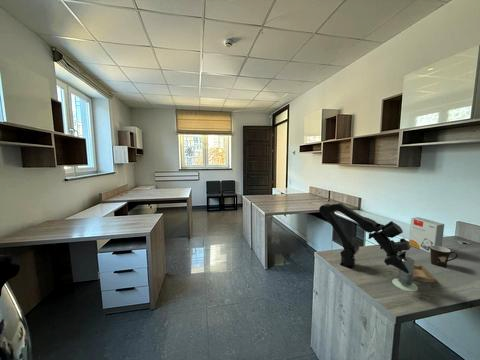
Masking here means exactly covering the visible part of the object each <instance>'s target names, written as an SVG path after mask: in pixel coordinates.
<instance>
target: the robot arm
mask: <svg viewBox="0 0 480 360" xmlns="http://www.w3.org/2000/svg"><path fill="white" fill-rule="evenodd" d="M337 211H338V212H339V213H342V214H343V215H344V216H345V217H348V218H349V219H350V220H352V221H354V222H355V223H357V224H358V226H359V227H360V229H362V230H363V231H364V232H365V233H368V239H369V240H370V239H372V238H373V240H374V241H375V242H376V243H377V245H379V246H380V247H379V248H380V250H383V251H384V252H385V253H386V254H385V255H386V256H385V258H384V260H383V263H385V265H386V266H393V267H394V266H395V267H397V268H399V269H400V270H402V271H404V272H406V273H409V271H408V269H407V268H406V267H405V265H404V264H403V262H402V258H400V257H401V256H406V254H407V251H409V250H410V249H411V247H412V246H411V245H409V240H407V239H405V237H404V238H400V239H399V241H397V242H395V241H394V240H393V238H395V237H397V236H399V235H401V234H402V233H404V230H403V229H402V227H401V226H400V225H398V224H397V223H395V222H394V221H393V220H391V221H390V222H387V223H386V224H385V225H384V224H382V223H379V222H377V221H376V220H373V219H372V218H369V217H366V216H362V215H361V214H359V213H358V212H356V211H354V210H352V209H351V208H349V207H348V206H346V205H345V204H343V203H341V202H338V203H331V204H330V203H326V204H322V205H320V207H319V213H320V214H321V215H322V216H323V218H325V219H326V220H327V221H328V222H329V223H330V225H331V227H332V228H333V229H334V231H335V232H336V233H335V234H336V235H337V236H338V238H339V239H340V241H341V242H342V248H343V250H341V251H340V256H341V257H340V259H341V260H340V263H339V265H341V266H343V267H346V268H348V269H353V267H355V266H356V258H355V255H356V254H357V253H358V252H359V250H360V246H359V245H360V244H359V243H358V242H357V240H356V239H355V238H353V239H352V238H351V237H350V236H349V235H348V233H347V232H346V230H345V229H344V227H343V226H342V224H341V222H340V221H339V220H338V217H336V214H335V212H337ZM391 239H392V240H391ZM406 257H407V256H406ZM395 267H394V268H395Z"/></svg>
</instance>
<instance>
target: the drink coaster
mask: <svg viewBox="0 0 480 360" xmlns="http://www.w3.org/2000/svg"><path fill="white" fill-rule="evenodd" d="M391 282H392V284H393V285H394V286H395V287H396V288H397V289H399V290H402V291H404V292H417V291H418V290H419V287H418V285H416V284H415V283H414V282H412V285H405V284H402V283H400V282H399V281H398V277H397V278H393V279H392V281H391Z"/></svg>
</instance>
